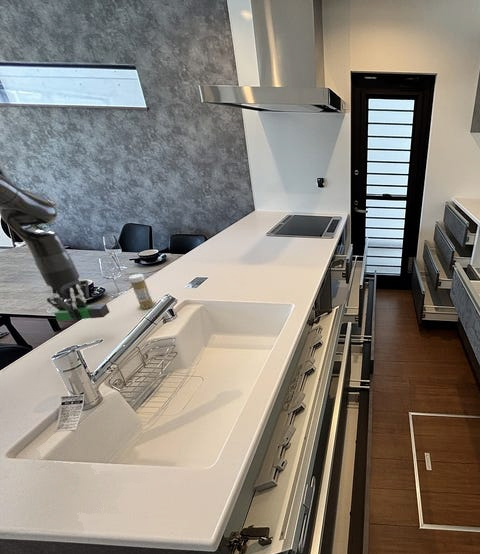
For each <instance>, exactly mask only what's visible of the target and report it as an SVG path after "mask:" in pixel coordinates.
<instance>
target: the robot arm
mask: <svg viewBox="0 0 480 554" xmlns="http://www.w3.org/2000/svg"><path fill="white" fill-rule="evenodd" d="M0 217H1V218H2V220H3V221H4V222H5V224H7V226H8V227H9V228H11V230H12V231H14V232H15V233H16V234H17V236H18V237H19V238H20V239H21V240H22V241H23V242H24V243H25V244H26V246H27V248H28V249H29V252H30V254H31V256H32V258H33V261H34V263H35V265H36V268H37V269H38V271H39V274H40V275H41V277H42V279H43V281H44V283H45V284H46V286H49V287H50V288H51V289H52V290H51V292H52V296H51V297H47V298H46V302H47V303H49V304H50V305H51V306H53V307H54V308H55V309H56V310H57V311H68V313H69V315H70V316H71V318H72V319H73V320H72V321H75V320H76V321H77V320H78V321H79V320H82V319H81V318H82V317H81V315H80V313H79V311H78V309H77V308H80V307H88V305H87V299H89V298H90V291H89V281H88V280H87V279H86V280H85V279H84V280H80V274H79V272H78V270H77V268H76V266H75V263H74V261H73V259H72V257H71V256H70V254H69V253H68V251H67V249H66V247H65V245H64V242H63V240H62V239H61V236H60V235H59V233H57V232H56V231H51V230H41V229H39V228H37V227H36V226H37V225H38V226H39V225H48V224H51V223H53V222H55V221H56V220H57V217H58V211H57V209H56V207H55V205H54V204H53V203H52V202H50V201H49V200H48V199H46V198H45V197H44V196H41V195H39V194H36V193H34V192H32V191H29V190H27V189H24V188H23V187H22V188H21V187H19V186H17V185H15V183H13V182H12V181H10V180H9V179H7V178H6V177H4V176H3V175H2V174H0ZM69 304H70V305H69Z"/></svg>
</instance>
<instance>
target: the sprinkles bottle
mask: <svg viewBox="0 0 480 554" xmlns="http://www.w3.org/2000/svg"><path fill="white" fill-rule="evenodd" d="M128 280H129V283H130V284H131V286H132V289H133V292H134V295H135V296H136V299H137V302H138V304H139V306H140V309H143V310H145V309H150V308H152V307H153V306H154V305H155V303H154V301H153V298H152V295H151V293H150V290H149V288H148V286H147V283H146V281H145V276H144V274H142V273H136V274H132V275H129V277H128Z"/></svg>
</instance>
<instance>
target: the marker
mask: <svg viewBox="0 0 480 554" xmlns="http://www.w3.org/2000/svg"><path fill="white" fill-rule="evenodd" d="M76 308H77V307H76ZM77 309H78V311H79V313H80V315H81V317H82V318H81V319H80V320H86V319H100V318H101V319H102V318H105V317H106V316H107V315H108V314H109V313H110V310H109V307H108V305H107V303H100V304H93V305H92V306H87V307H80V308H77ZM53 314H54V316H55V318H56V320H57V322H63V321H74V320H73V319H72V318H71V316H70V315H69V313H68V311H59V310H57V311H56V312H55V313H53Z"/></svg>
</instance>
